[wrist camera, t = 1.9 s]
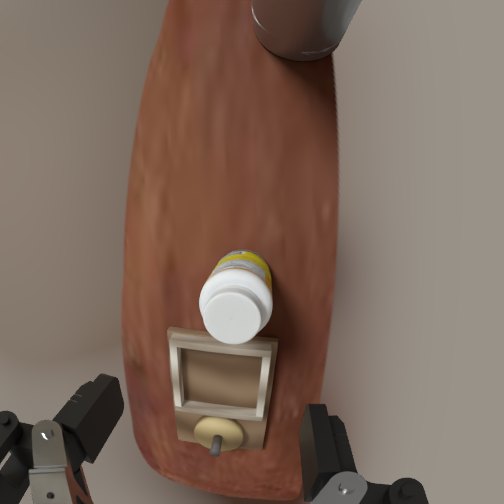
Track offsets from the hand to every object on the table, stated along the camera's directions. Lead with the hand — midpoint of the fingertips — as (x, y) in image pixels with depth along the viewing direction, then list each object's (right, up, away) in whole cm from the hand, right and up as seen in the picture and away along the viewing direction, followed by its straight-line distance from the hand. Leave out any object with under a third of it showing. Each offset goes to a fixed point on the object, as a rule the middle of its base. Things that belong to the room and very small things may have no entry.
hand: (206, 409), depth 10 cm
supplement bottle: (+1, +4, +19) cm, 19 cm away
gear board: (-2, -12, +22) cm, 25 cm away
